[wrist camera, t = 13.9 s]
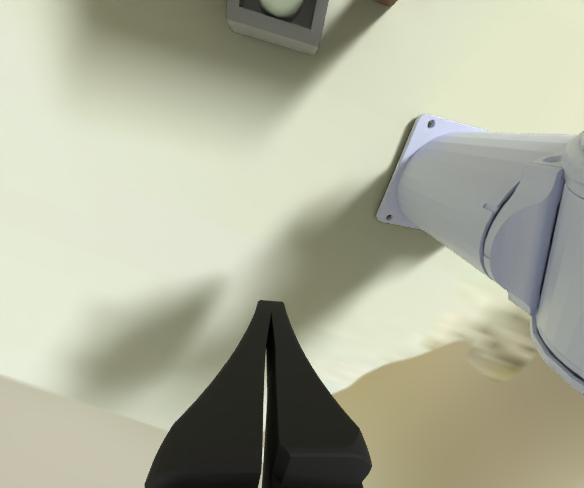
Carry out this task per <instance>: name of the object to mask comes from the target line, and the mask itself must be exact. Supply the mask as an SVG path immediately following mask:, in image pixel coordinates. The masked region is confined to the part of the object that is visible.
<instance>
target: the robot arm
mask: <svg viewBox="0 0 584 488" xmlns="http://www.w3.org/2000/svg"><path fill="white" fill-rule="evenodd" d="M430 120H431V122H432V124H431V126H430V127H429V128H428V126H427V124H428V122H429V121H430ZM388 215H390V218H388V219H386V217H387V216H388ZM376 217H377V219H378V220H379V221H381V222H385V223H390V224H395V225H400V226H405V227H410V228H415V229H421V230H424V231H425V232H426V233H428V234H429V235H431V236H432V237H433V238H435V239H436V240H438V241H439V242H440V243H442V244H443V245H444V246H446V247H447V248H449V249H450V250H451V251H453V252H454V253H456V254H457V255H458V256H460V257H461V258H463V259H464V260H465V261H467V262H468V263H469V264H471V265H472V266H474V267H475V268H476V269H478V270H479V271H481V272H482V273H483V274H485V275H486V276H487V277H489V278H490V279H492V280H494V281H495V282H496V283H497V284H498V285H500V286H501V287H503V288H504V289H505V290H507V292H508V299H509V300H510V301H512V302H513V303H514V304H516V305H517V306H518V307H520V308H521V309H522V310H524V311H525V312H526V313H528V314H529V315H530V316H531V321H530V333H531V338H532V340H533V343H534V345H535V347H536V349H537V351H538V352H539V354H540V355H541V356H542V358H543V359H544V361H545V362H546V363H547V364H548V365H549V366H550V367H551V368H552V369H553V370H554V371H555V372H556V373H557V374H558V375H559V376H560V377H561V378H562V379H564V380H565V381H566V382H567V383H568V384H569V385H571V386H572V387H573V388H575V389H576V390H578V391H579V392H580V393H582V394H583V395H584V131H583V132H581V133H580V134H578V135H567V134H532V133H497V132H490V131H487V130H483V129H480V128H476V127H472V126H469V125H465V124H462V123H458V122H455V121H451V120H448V119H444V118H441V117H437V116H433V115H430V114H422V115H420V116H418V117H417V119H416V121H415V123H414V125H413V128H412V130H411V133H410V135H409V137H408V140H407V142H406V145H405V147H404V149H403V152H402V154H401V157H400V159H399V162H398V164H397V166H396V169H395V171H394V174H393V176H392V178H391V181H390V183H389V186H388V188H387V190H386V193H385V195H384V198H383V200H382V202H381V205H380V207H379V210H378V212H377V215H376ZM265 351H266V355H267V413H266V430H265V447H264V463H263V479H262V488H363V485H362V481H363V480H364V479H365V478H366V476H367V475H368V474H369V472H370V470H371V467H372V464H371V459H370V455H369V452H368V449H367V446H366V443H365V441H364V438H363V436H362V433H361V431H360V429H359V427H358V426H357V425H356V424H355V423H354V422H353V421H352V420H351V419H350V417H349V416H348V415H347V414H346V413H345V412H344V410H343V409H342V408H341V407H340V405H339V404H338V403H337V401H336V400H335V399H334V398H333V396H332V395H331V394H330V392H329V391H328V390H327V388H326V387H325V385H324V384H323V383H322V381H321V380H320V379H319V377H318V376H317V374H316V372H315V371H314V369H313V368H312V366H311V364H310V363H309V361H308V359H307V358H306V356H305V354H304V352H303V350H302V348H301V346H300V344H299V342H298V340H297V338H296V336H295V334H294V331H293V329H292V327H291V324H290V321H289V319H288V316H287V313H286V309H285V305H284V303H283V302H277V301H264V300H260V301H258V304H257V308H256V311H255V313H254V316H253V318H252V320H251V322H250V324H249V326H248V329H247V331H246V332H245V334H244V336H243V338H242V339H241V341H240V343H239V345H238V346H237V348H236V349H235V351H234V352H233V354H232V355H231V357H230V358H229V360H228V361H227V363H226V364H225V365H224V367H223V368H222V369H221V371H220V372H219V373H218V375H217V376H216V377H215V379H214V380H213V381H212V382H211V383H210V385H209V386H208V387H207V388H206V389H205V391H204V392H203V393H202V394H201V395H200V396H199V398H198V399H197V400H196V401H195V402H194V403H193V404H192V405H191V406H190V407H189V408H188V410H187V411H186V412H185V413H184V414H183V415H182V416H181V417H180V418H179V419H178V420H177V421H176V422H175V423H174V424H173V426H172V427H171V429H170V431H169V432H168V434H167V436H166V437H165V439H164V441H163V443H162V444H161V446H160V448H159V450H158V452H157V454H156V456H155V459H154V461H153V463H152V466H151V469H150V471H149V474H148V477H147V479H146V482H145V488H258V484H259V479H260V475H261V464H262V441H263V398H264V370H265Z"/></svg>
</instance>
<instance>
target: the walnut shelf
mask: <svg viewBox="0 0 584 488" xmlns="http://www.w3.org/2000/svg"><path fill="white" fill-rule="evenodd" d="M374 1H377V2H379V3H382V4H385V5H388V6H391V7H392V6H393V5H394V3H395V2H396V1H397V0H374Z"/></svg>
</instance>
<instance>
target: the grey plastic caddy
mask: <svg viewBox="0 0 584 488" xmlns="http://www.w3.org/2000/svg"><path fill="white" fill-rule="evenodd" d="M328 1H329V0H227V8H226V20H227V22H228V24H229V26H230V28H231V30H232V31H233V32H236V33H239V34H243V35H246V36H249V37H253V38H256V39H259V40H263V41H266V42H269V43H273V44H276V45H279V46H283V47H286V48H289V49H292V50H296V51H299V52H302V53H306V54H309V55H312V56H315V54H316V52H317V50H318V48H319V44H320V39H321V34H322V30H323V25H324V20H325V15H326V11H327V6H328Z"/></svg>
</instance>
